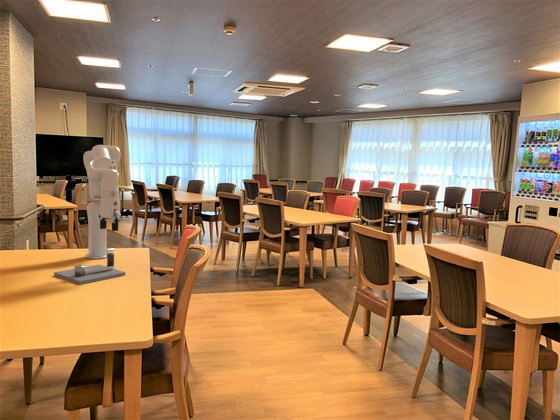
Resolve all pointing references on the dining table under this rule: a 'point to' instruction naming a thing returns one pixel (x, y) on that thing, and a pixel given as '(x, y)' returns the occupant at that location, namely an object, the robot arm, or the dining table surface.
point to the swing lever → (81, 268)
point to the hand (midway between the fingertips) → (109, 229)
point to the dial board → (89, 275)
